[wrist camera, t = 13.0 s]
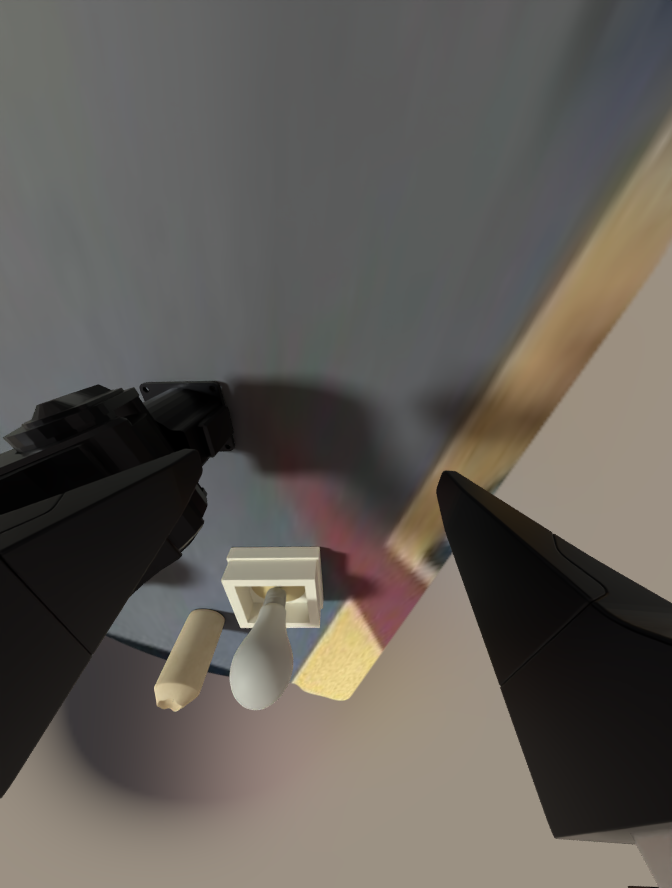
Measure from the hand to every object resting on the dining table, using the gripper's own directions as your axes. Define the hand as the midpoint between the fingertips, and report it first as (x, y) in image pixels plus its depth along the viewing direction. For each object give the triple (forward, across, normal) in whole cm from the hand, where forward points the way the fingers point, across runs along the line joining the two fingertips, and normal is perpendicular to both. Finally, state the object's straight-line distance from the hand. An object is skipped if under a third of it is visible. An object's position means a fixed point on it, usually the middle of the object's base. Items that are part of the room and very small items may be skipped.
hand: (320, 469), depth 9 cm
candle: (+12, +17, +39) cm, 44 cm away
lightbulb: (+11, +5, +27) cm, 30 cm away
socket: (+13, +5, +27) cm, 30 cm away
